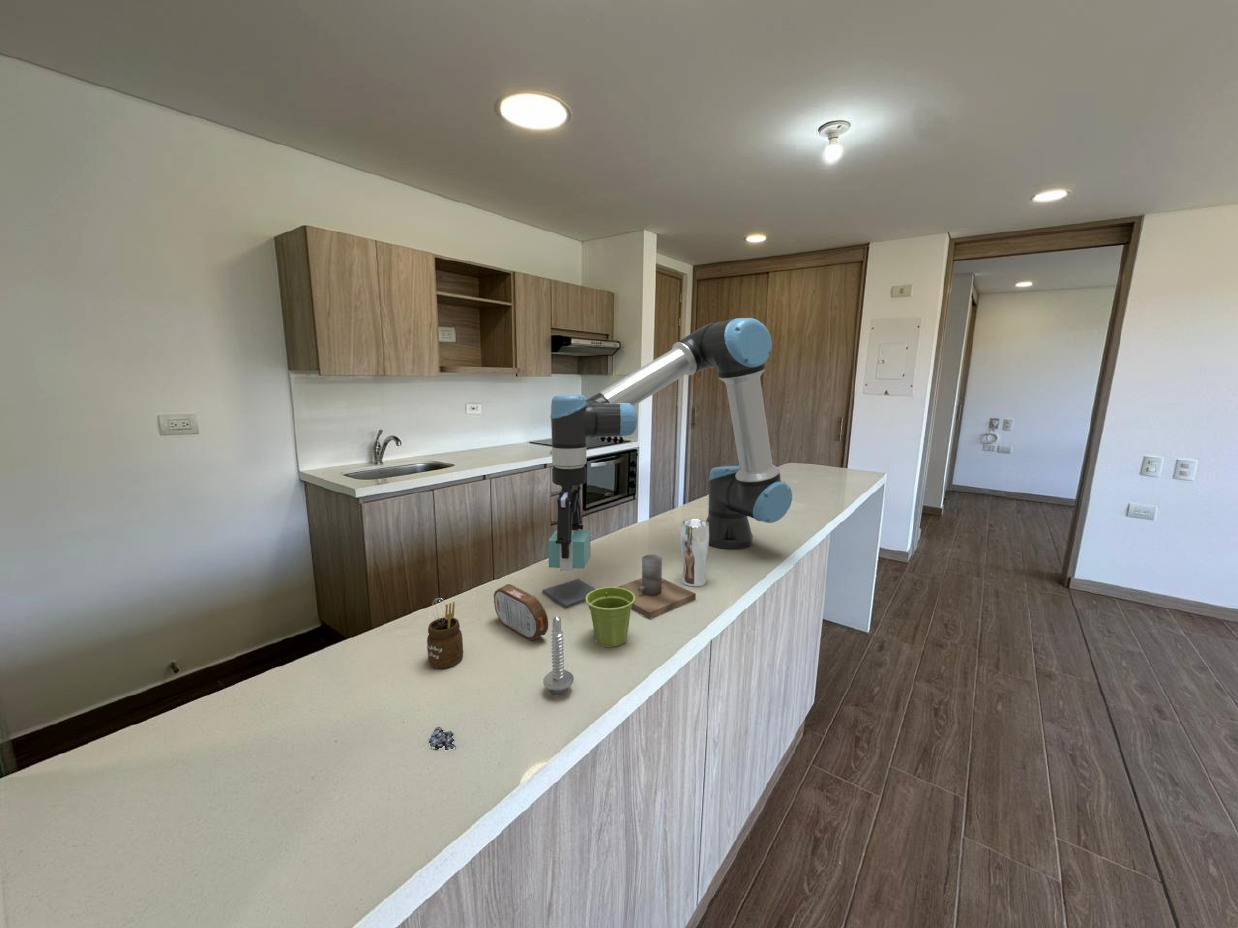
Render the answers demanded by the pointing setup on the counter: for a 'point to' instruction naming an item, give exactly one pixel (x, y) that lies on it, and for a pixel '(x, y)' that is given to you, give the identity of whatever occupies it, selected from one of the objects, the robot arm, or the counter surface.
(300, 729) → the counter surface
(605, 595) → the plant pot
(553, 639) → the screw
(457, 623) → the utensil holder
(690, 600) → the brown square stand
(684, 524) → the beer glass
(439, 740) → the grey irregular lump
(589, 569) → the counter surface
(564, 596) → the mat
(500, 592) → the tin
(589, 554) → the striped light blue box
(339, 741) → the counter surface
